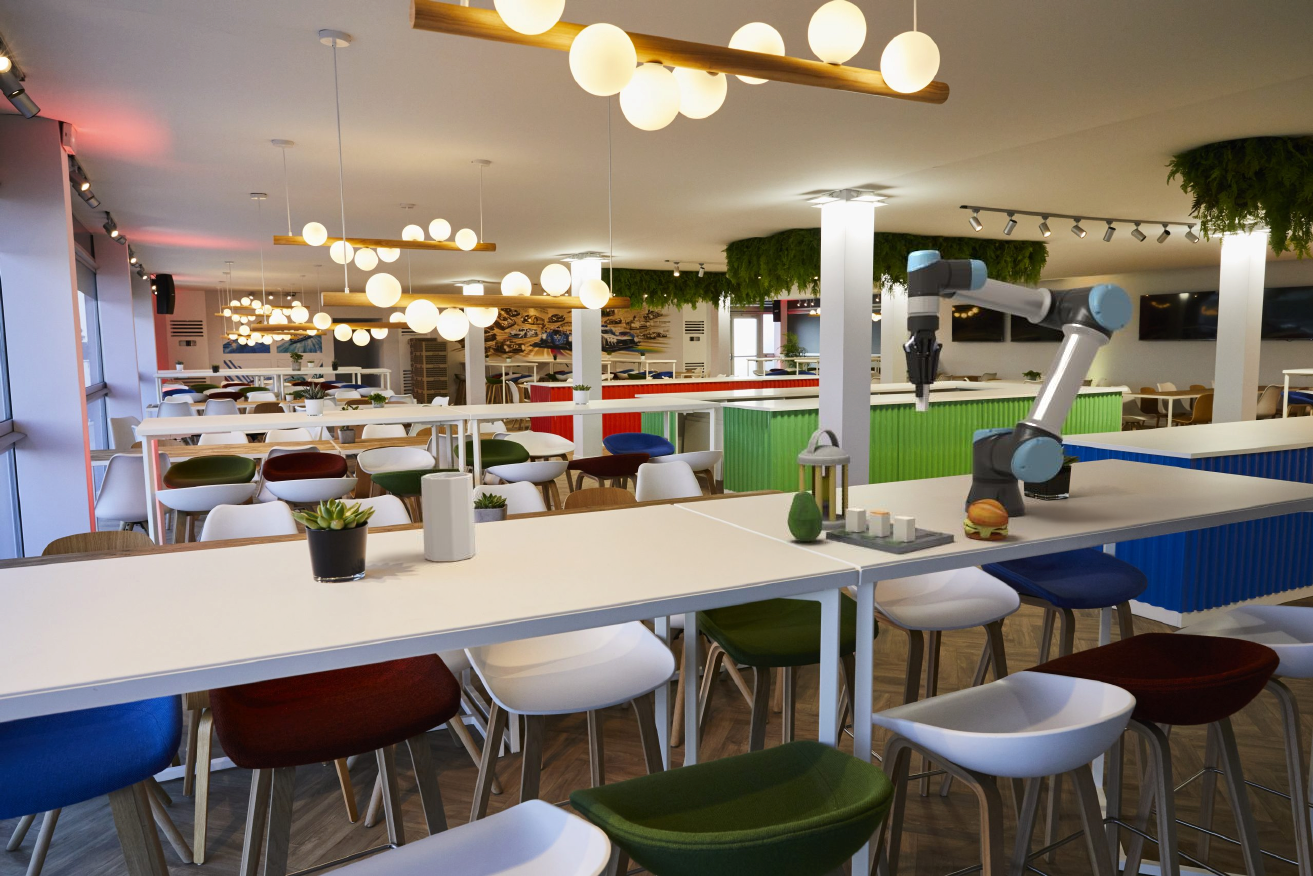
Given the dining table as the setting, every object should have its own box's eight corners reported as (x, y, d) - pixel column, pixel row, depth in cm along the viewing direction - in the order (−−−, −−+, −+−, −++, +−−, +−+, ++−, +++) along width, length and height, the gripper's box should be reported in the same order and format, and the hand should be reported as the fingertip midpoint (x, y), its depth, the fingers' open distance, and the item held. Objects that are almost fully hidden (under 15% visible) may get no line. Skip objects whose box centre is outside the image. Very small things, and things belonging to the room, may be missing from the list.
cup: (422, 554, 188) (418, 473, 186) (472, 549, 192) (468, 470, 190) (427, 564, 178) (423, 479, 176) (479, 559, 182) (476, 476, 180)
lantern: (827, 533, 203) (827, 431, 200) (784, 525, 214) (783, 429, 211) (863, 525, 212) (863, 428, 209) (819, 517, 222) (819, 425, 220)
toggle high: (901, 537, 188) (901, 515, 187) (914, 540, 185) (915, 518, 184) (893, 539, 186) (893, 517, 185) (906, 542, 183) (906, 519, 182)
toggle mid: (877, 532, 193) (877, 510, 193) (890, 535, 190) (890, 512, 190) (869, 534, 192) (869, 511, 191) (881, 536, 189) (881, 513, 188)
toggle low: (854, 528, 199) (854, 507, 198) (865, 530, 196) (866, 509, 196) (845, 529, 197) (845, 509, 197) (857, 532, 194) (857, 511, 194)
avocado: (795, 537, 199) (795, 487, 198) (826, 540, 195) (826, 489, 194) (782, 543, 192) (782, 492, 191) (815, 546, 188) (814, 494, 187)
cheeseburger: (1000, 531, 200) (1005, 493, 197) (1014, 551, 190) (1019, 512, 186) (957, 531, 201) (961, 493, 198) (969, 551, 191) (973, 511, 187)
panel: (881, 527, 207) (881, 519, 207) (953, 541, 190) (954, 532, 190) (825, 538, 196) (825, 529, 196) (898, 554, 179) (898, 544, 179)
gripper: (926, 316, 209) (925, 409, 211) (893, 315, 202) (892, 411, 204) (952, 314, 203) (951, 410, 205) (919, 313, 196) (918, 412, 198)
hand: (922, 410), depth 205 cm, fingers closed
